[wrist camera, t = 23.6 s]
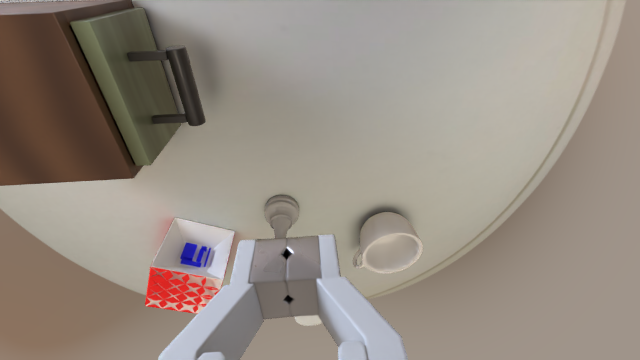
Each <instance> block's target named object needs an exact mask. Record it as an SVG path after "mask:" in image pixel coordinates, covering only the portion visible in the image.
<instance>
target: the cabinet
mask: <svg viewBox="0 0 640 360" xmlns="http://www.w3.org/2000/svg"><path fill="white" fill-rule="evenodd" d="M128 8H134V7H133V4H132V1H131V0H82V1H52V2H23V3H0V186H4V185H22V184H40V183H58V182H76V181H94V180H112V179H130V178H134V177H135V176H136V175H137V173H138V172H139V171H140V169H141V168H142V167H143V166H136V164H135V162H134V160H133V158H132V156H131V154H130V152H129V149H128V147H127V148H126V147H125V145H124V142H123V140H122V138H121V136H120V134H119V132H118V130H117V128H116V125H115V123H114V121H113V119H112V117H111V115H110V113H109V110H108V108H107V106H106V104H105V102H104V100H103V98H102V95H101V93H100V91H99V89H98V87H97V85H96V83H95V80H94V78H93V76H92V74H91V72H90V70H89V68H88V65H87V63H86V61H85V59H84V57H83V55H82V53H81V51H80V48H79V46H78V44H77V42H76V40H75V38H74V36H73V33H72V31H71V29H70V27H69V26H70V25H71V24H70V22H71V21H75V20H80V19H84V18H89V17H93V16H98V15H102V14H106V13H111V12H115V11H120V10H124V9H128Z"/></svg>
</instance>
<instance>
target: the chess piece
mask: <svg viewBox="0 0 640 360" xmlns="http://www.w3.org/2000/svg"><path fill="white" fill-rule="evenodd" d="M298 213H299V206H298V204H297V202H296V201H295V200H294V199H293V198H291V197H288V196H283V195H281V196H275V197H273V198H271V199H270V200H269V201H268V202H267V203H266V206H265V218H266V220H267V222H268V223H269V224H270V226H271V227H272V228H273V229H274V233H275V239H276V238H286V234H287V231H288V229H290V228H291V226H292V225H293V224H294V223H295V222H296V221H297V219H298Z"/></svg>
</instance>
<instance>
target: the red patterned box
mask: <svg viewBox="0 0 640 360" xmlns="http://www.w3.org/2000/svg"><path fill="white" fill-rule="evenodd" d="M234 233H235V231H232V230H227V229H223V228H219V227H214V226H210V225H206V224H201V223H197V222H193V221H188V220H184V219H180V218H174V219H173V221H172V224H171V226H170V228H169V230H168V232H167V234H166V236H165V238H164V240H163V242H162V244H161V246H160V248H159V250H158V252H157V254H156V256H155V258H154V260H153V262H152V264H151V266H150V272H149V280H148V287H147V294H146V302H145V306H149V307H156V308H163V309H170V310H176V311H183V312H189V313H196V314H198V313H199V312H200V311H201V310H202V309H203V308H204V307H205V306H206V305H207V304H208V303H209V301H210V300H211V299H212V298H213V297H214V296H215V295H216V294H217V293H218V292H219V291H220V288H221V286H222V284H223V280H224V277H225V273H226V266H227V264H228V260H229V254H230V251H231V247H232V242H233V238H234Z"/></svg>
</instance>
